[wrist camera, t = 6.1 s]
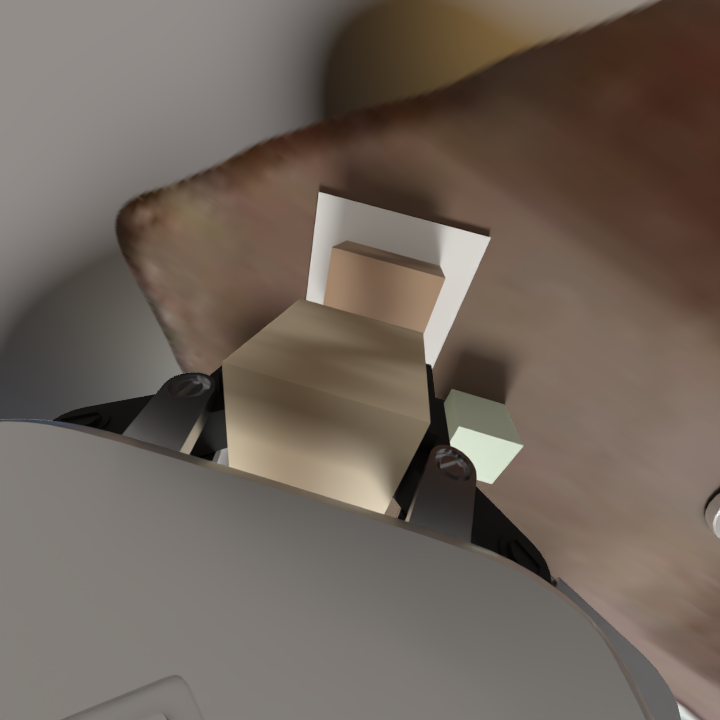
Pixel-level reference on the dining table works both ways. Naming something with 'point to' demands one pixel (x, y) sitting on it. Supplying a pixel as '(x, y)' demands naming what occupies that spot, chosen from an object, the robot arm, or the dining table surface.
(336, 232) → the white mat
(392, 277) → the walnut base brick
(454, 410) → the sage block
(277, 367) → the maple block
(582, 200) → the dining table surface
